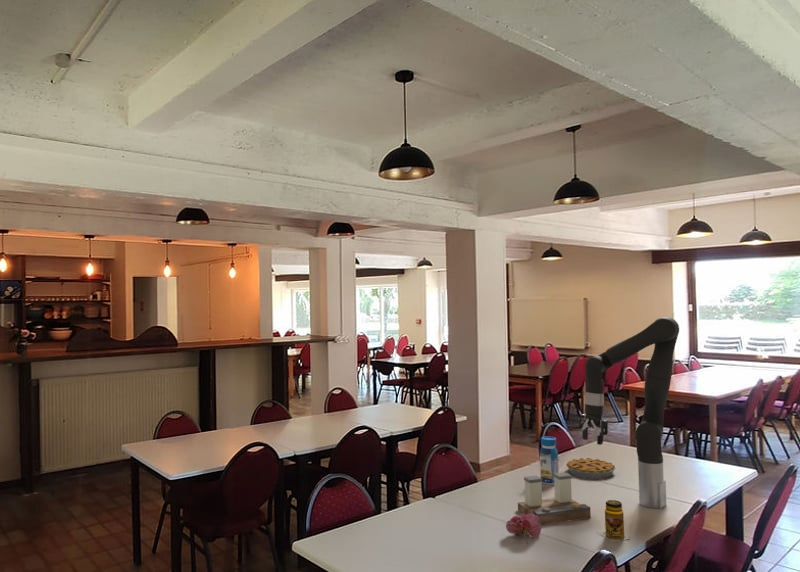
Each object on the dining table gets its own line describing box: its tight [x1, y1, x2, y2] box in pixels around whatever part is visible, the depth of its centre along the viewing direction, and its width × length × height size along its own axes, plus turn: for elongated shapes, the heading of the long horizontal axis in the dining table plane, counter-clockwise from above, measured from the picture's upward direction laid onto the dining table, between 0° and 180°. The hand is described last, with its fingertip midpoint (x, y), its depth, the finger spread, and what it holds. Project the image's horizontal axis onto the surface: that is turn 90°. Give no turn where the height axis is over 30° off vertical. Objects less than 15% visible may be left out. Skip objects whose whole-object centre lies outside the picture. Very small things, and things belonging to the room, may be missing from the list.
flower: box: [505, 514, 542, 544], centre depth 201 cm, size 11×10×10 cm
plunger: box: [523, 475, 543, 507], centre depth 224 cm, size 4×5×10 cm
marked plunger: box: [554, 471, 573, 503], centre depth 228 cm, size 4×5×10 cm
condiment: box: [597, 499, 631, 543], centre depth 201 cm, size 7×8×12 cm
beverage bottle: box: [539, 436, 560, 486], centre depth 262 cm, size 8×8×20 cm
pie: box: [566, 457, 616, 480], centre depth 275 cm, size 22×22×5 cm
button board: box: [517, 497, 591, 526], centre depth 223 cm, size 16×22×5 cm
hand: (592, 442), depth 243 cm, fingers open, 8 cm apart
